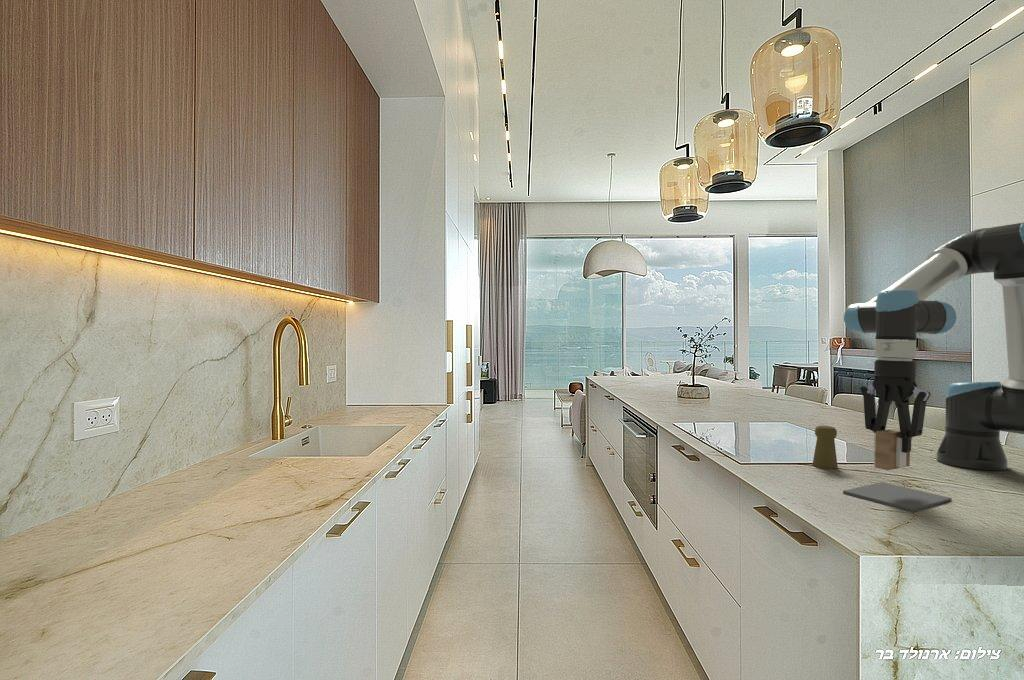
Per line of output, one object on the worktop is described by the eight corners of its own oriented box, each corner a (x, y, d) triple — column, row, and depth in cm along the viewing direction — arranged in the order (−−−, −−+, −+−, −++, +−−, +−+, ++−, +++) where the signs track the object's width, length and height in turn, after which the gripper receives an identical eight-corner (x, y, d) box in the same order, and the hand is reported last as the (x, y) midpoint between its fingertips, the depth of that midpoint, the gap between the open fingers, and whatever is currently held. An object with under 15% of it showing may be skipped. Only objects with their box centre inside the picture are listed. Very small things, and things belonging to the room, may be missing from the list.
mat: (882, 484, 131) (882, 481, 131) (951, 500, 118) (951, 498, 118) (843, 493, 123) (843, 490, 123) (912, 511, 111) (913, 508, 111)
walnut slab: (894, 463, 125) (895, 428, 125) (909, 465, 122) (910, 430, 122) (872, 467, 121) (873, 431, 120) (887, 470, 118) (888, 433, 118)
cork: (813, 467, 146) (814, 426, 146) (810, 462, 152) (811, 423, 152) (839, 470, 144) (840, 428, 144) (835, 464, 150) (836, 424, 150)
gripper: (848, 357, 126) (845, 458, 127) (927, 361, 112) (924, 475, 113) (866, 357, 130) (863, 455, 130) (945, 361, 116) (942, 471, 116)
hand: (891, 464), depth 121 cm, fingers closed on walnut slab, 3 cm apart
